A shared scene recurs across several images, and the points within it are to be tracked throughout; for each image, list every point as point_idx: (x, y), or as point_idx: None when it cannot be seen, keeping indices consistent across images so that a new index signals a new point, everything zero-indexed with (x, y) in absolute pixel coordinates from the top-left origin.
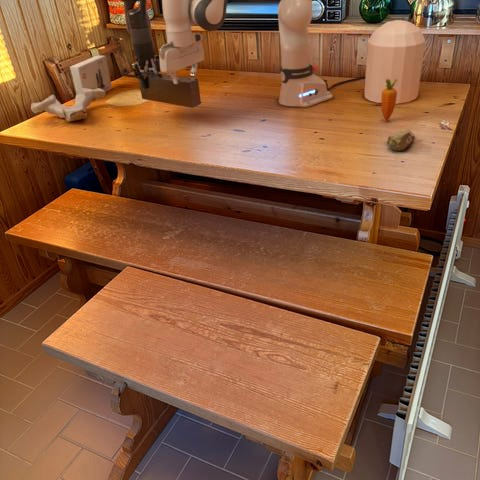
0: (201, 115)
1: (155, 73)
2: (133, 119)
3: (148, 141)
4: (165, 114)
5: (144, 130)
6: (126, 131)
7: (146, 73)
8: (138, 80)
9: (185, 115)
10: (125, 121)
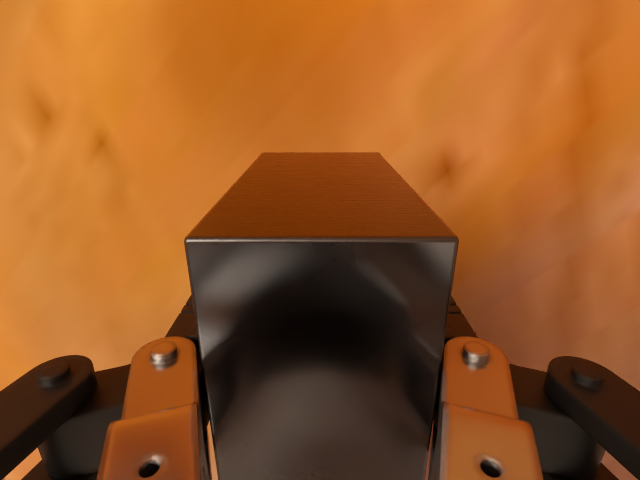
0: None
1: (406, 476)
2: (233, 38)
3: None
4: None
5: (147, 261)
6: (70, 172)
7: (352, 343)
8: (214, 205)
9: None
10: (174, 7)
